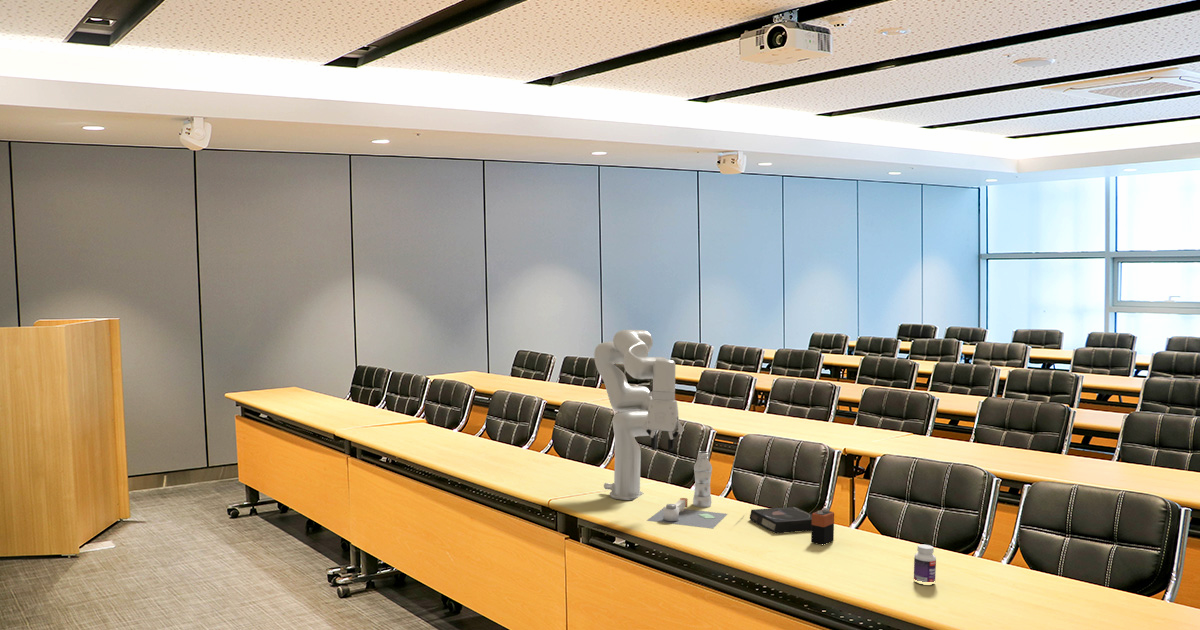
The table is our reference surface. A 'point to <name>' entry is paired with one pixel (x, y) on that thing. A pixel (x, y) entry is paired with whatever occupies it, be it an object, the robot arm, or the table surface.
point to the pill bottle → (925, 564)
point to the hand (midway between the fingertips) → (662, 449)
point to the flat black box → (782, 519)
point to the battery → (822, 527)
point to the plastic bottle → (702, 480)
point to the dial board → (692, 518)
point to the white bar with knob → (674, 510)
